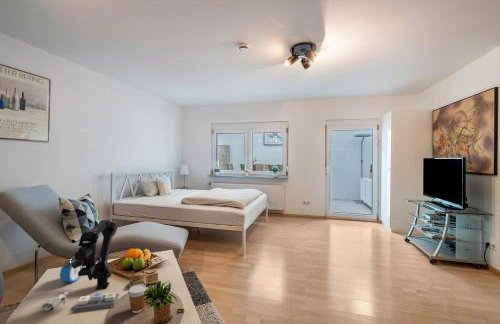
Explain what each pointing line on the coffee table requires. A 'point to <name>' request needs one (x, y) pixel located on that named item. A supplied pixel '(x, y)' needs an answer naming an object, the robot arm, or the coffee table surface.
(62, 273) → the alarm clock
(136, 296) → the disposable coffee cup
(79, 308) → the keypad
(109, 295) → the key sage
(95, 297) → the key blue
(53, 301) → the woman figurine
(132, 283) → the pastry
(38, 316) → the coffee table surface
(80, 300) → the key ivory
